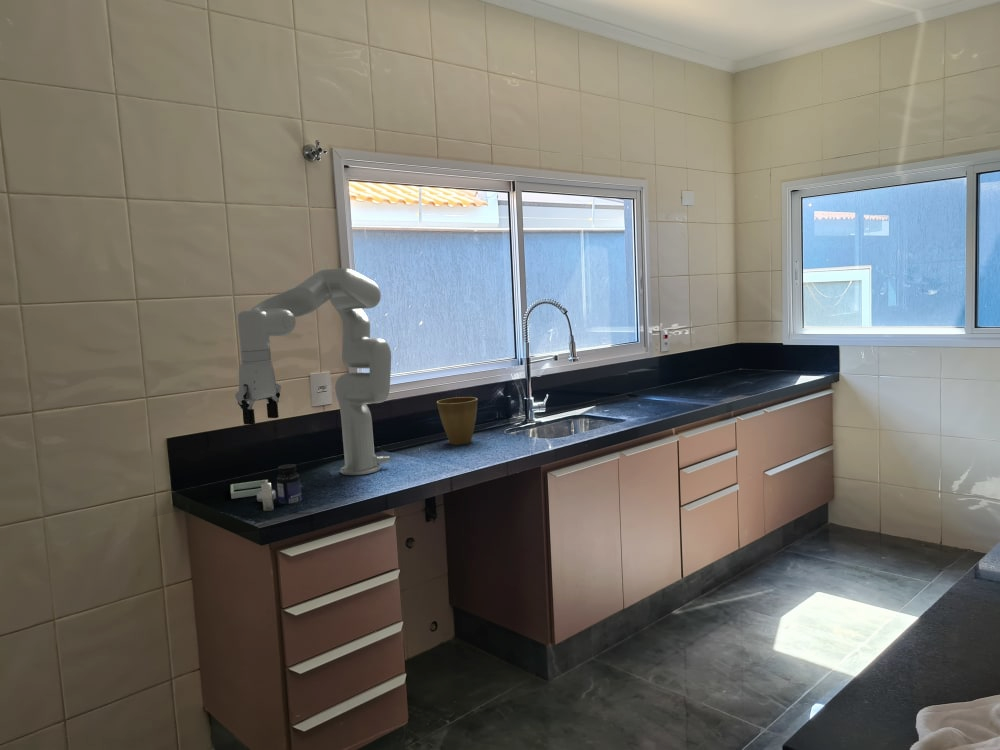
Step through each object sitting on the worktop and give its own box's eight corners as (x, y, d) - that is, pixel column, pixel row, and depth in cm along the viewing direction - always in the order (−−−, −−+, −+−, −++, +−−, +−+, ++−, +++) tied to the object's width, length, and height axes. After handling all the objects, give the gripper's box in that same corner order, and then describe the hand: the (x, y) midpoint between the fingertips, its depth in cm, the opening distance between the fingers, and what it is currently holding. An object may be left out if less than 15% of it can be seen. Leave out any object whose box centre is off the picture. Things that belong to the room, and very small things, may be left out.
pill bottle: (304, 501, 208) (301, 462, 207) (299, 508, 202) (295, 468, 201) (282, 503, 208) (278, 464, 207) (276, 509, 202) (272, 469, 201)
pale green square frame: (268, 489, 224) (267, 479, 223) (270, 497, 214) (269, 487, 214) (231, 494, 220) (230, 484, 220) (231, 503, 211) (230, 493, 210)
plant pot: (483, 438, 280) (480, 395, 278) (476, 446, 266) (473, 402, 264) (444, 439, 283) (441, 397, 281) (435, 448, 268) (432, 403, 266)
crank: (256, 498, 209) (254, 473, 208) (275, 495, 211) (273, 471, 210) (259, 512, 195) (256, 486, 194) (278, 509, 197) (276, 483, 196)
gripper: (265, 354, 208) (270, 415, 209) (221, 360, 192) (227, 426, 193) (288, 353, 205) (293, 415, 207) (245, 360, 189) (251, 427, 191)
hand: (261, 420), depth 200 cm, fingers open, 9 cm apart
